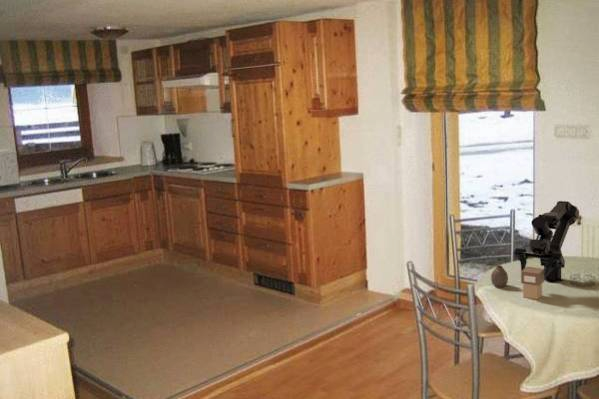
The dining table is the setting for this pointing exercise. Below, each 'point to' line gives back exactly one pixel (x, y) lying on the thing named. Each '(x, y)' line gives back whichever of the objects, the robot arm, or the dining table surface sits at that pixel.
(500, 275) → the vase
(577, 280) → the dining table surface
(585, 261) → the dining table surface
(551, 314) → the dining table surface
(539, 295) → the mailer box
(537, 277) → the lid
